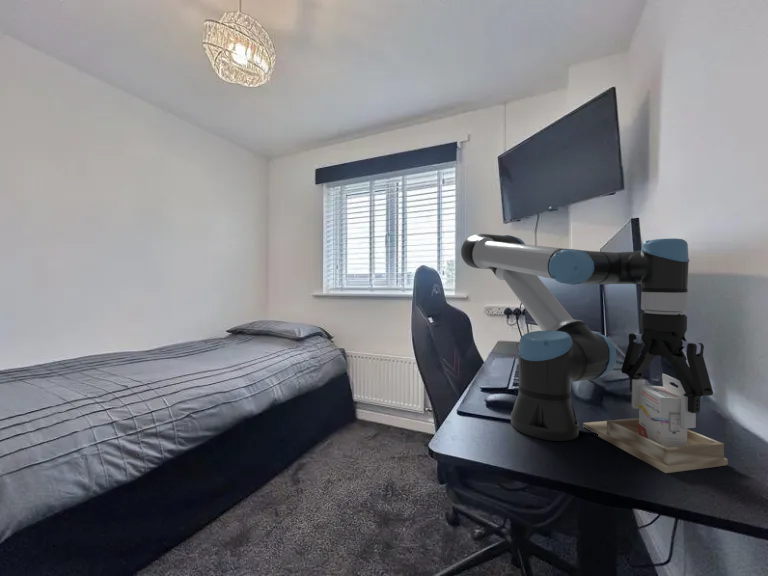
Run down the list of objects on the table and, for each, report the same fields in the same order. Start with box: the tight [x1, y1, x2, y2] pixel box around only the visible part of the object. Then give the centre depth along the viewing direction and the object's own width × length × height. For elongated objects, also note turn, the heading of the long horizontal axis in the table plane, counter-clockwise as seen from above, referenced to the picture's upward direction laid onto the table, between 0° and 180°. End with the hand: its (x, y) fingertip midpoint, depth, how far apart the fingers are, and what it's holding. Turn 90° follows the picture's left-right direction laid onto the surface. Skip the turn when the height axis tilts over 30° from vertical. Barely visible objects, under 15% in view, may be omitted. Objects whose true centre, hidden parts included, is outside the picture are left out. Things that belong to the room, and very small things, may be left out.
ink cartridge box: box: [638, 373, 688, 448], centre depth 71 cm, size 9×5×15 cm, turn 169°
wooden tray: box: [582, 417, 729, 474], centre depth 74 cm, size 20×15×4 cm
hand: (661, 416), depth 71 cm, fingers open, 10 cm apart
